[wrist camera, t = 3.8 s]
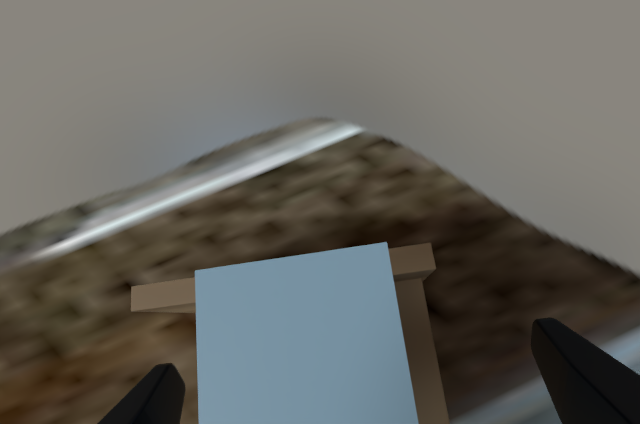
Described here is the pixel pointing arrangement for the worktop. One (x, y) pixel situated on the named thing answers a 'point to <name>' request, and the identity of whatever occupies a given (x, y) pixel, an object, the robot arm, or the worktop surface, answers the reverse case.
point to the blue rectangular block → (303, 341)
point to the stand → (419, 344)
